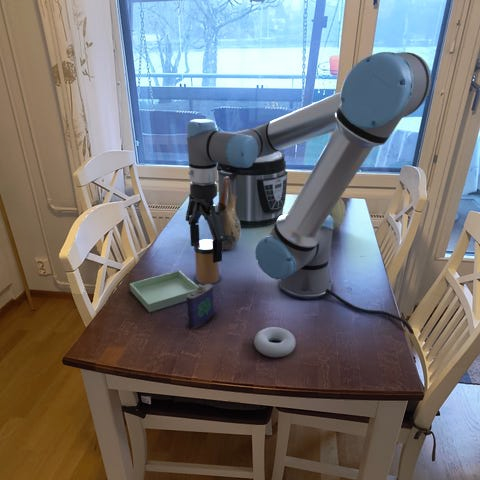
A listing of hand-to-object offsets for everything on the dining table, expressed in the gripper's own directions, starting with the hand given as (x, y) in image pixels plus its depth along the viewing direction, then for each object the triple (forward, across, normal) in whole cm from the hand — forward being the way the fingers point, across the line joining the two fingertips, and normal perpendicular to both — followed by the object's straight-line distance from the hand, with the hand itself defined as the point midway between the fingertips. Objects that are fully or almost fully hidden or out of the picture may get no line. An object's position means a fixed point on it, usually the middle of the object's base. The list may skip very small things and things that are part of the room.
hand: (206, 253), depth 128 cm
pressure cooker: (+9, -38, +43) cm, 58 cm away
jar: (+9, 0, 0) cm, 9 cm away
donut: (+8, +40, -4) cm, 41 cm away
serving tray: (+9, +2, -15) cm, 17 cm away
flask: (+9, +20, -13) cm, 26 cm away
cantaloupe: (+9, -11, +59) cm, 61 cm away
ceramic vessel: (+9, -17, +18) cm, 26 cm away
